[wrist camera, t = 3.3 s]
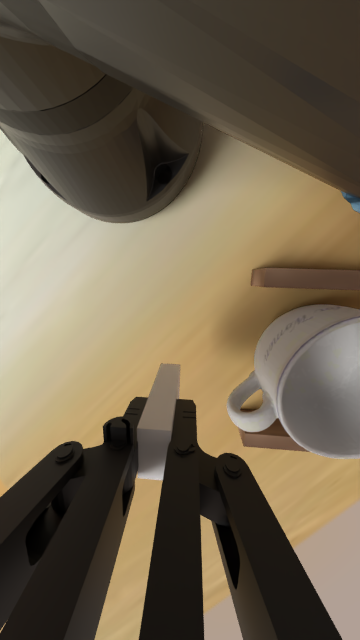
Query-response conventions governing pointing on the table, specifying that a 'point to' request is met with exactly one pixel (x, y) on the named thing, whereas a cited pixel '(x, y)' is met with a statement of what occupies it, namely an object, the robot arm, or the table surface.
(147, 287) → the table surface
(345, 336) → the teacup
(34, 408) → the table surface
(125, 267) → the table surface
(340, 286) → the brown parallel rails
